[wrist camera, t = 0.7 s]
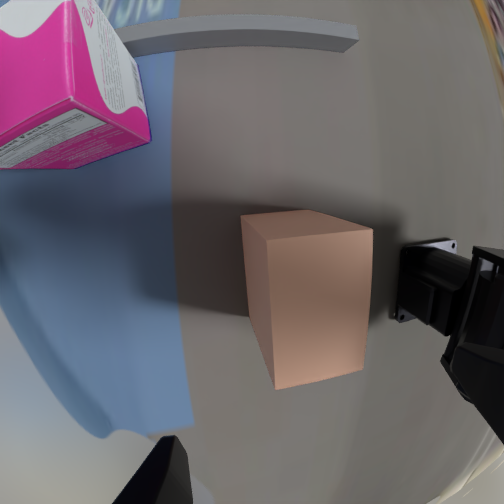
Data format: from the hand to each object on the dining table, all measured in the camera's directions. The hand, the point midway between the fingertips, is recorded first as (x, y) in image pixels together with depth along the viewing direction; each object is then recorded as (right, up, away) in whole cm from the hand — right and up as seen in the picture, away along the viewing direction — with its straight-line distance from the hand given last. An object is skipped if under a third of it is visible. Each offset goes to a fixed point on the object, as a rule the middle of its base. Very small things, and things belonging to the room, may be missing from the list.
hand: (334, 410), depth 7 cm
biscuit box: (-1, +4, +12) cm, 13 cm away
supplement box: (-12, +13, +8) cm, 19 cm away
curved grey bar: (-6, +18, +8) cm, 21 cm away
